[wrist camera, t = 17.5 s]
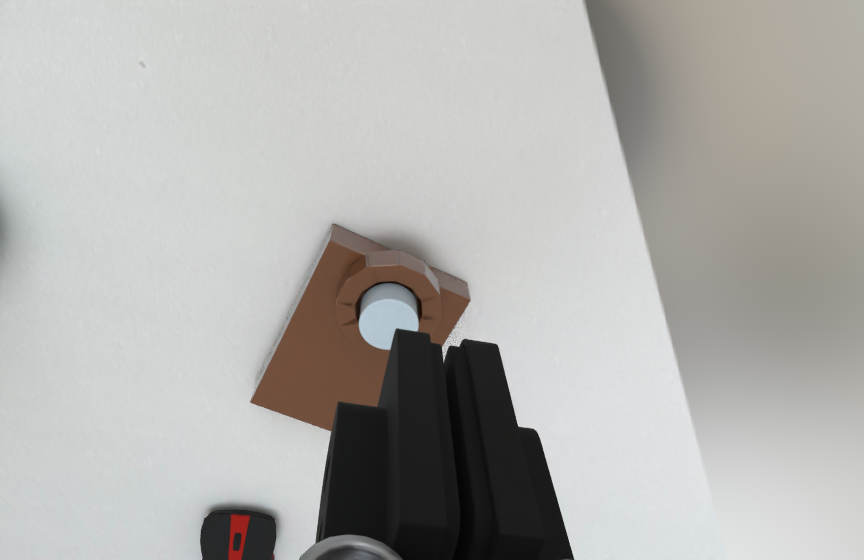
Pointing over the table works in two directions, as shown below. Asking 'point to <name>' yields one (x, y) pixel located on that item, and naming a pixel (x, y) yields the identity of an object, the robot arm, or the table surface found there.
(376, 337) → the pale blue short cylinder
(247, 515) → the computer mouse
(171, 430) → the table surface
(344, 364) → the brown mounting plate
